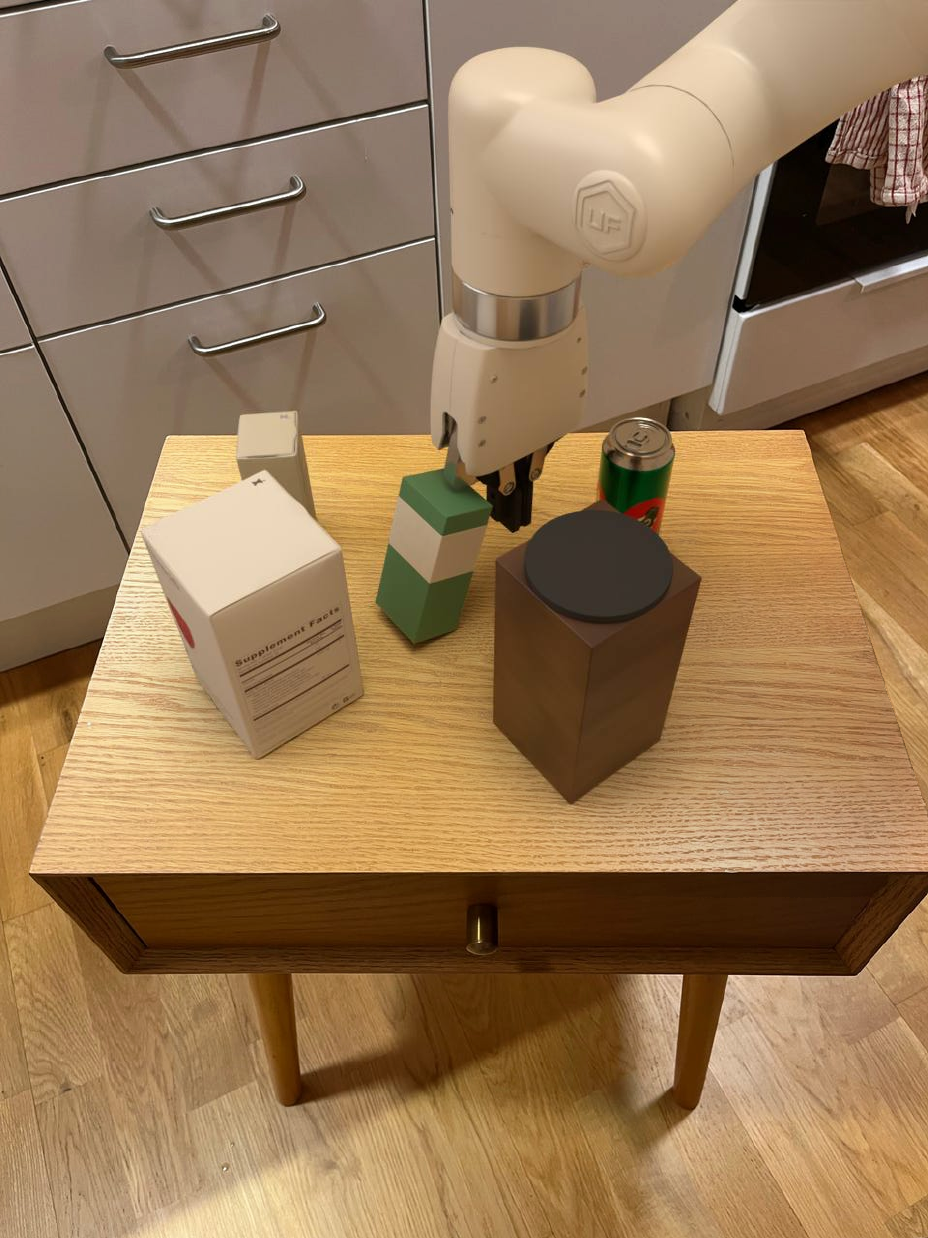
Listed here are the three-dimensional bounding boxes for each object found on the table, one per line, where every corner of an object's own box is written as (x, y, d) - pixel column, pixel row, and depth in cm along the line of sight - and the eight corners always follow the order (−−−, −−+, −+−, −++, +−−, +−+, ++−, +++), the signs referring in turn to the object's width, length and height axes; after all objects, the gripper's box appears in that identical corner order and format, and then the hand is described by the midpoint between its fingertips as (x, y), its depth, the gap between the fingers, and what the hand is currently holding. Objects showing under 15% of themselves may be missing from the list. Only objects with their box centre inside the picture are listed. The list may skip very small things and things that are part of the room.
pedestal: (660, 740, 64) (702, 577, 52) (570, 805, 61) (592, 648, 49) (580, 665, 68) (602, 497, 56) (492, 722, 65) (494, 558, 53)
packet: (448, 466, 66) (401, 476, 64) (493, 505, 64) (446, 517, 61) (417, 589, 73) (374, 602, 71) (457, 630, 71) (413, 644, 68)
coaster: (702, 577, 52) (704, 569, 51) (592, 648, 49) (593, 640, 48) (602, 497, 56) (603, 490, 56) (494, 558, 53) (494, 551, 53)
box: (265, 520, 78) (239, 410, 70) (318, 517, 79) (298, 406, 70) (262, 567, 75) (234, 457, 67) (317, 563, 75) (296, 453, 67)
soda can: (664, 550, 75) (689, 428, 66) (636, 591, 73) (658, 469, 64) (606, 526, 77) (623, 405, 68) (577, 565, 75) (590, 444, 65)
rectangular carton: (191, 677, 68) (133, 525, 57) (300, 618, 72) (266, 463, 60) (255, 764, 63) (205, 617, 52) (368, 696, 67) (344, 544, 55)
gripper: (570, 227, 61) (553, 451, 75) (374, 307, 56) (395, 533, 70) (653, 276, 57) (619, 503, 71) (451, 368, 52) (457, 595, 66)
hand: (508, 517), depth 70 cm, fingers closed
